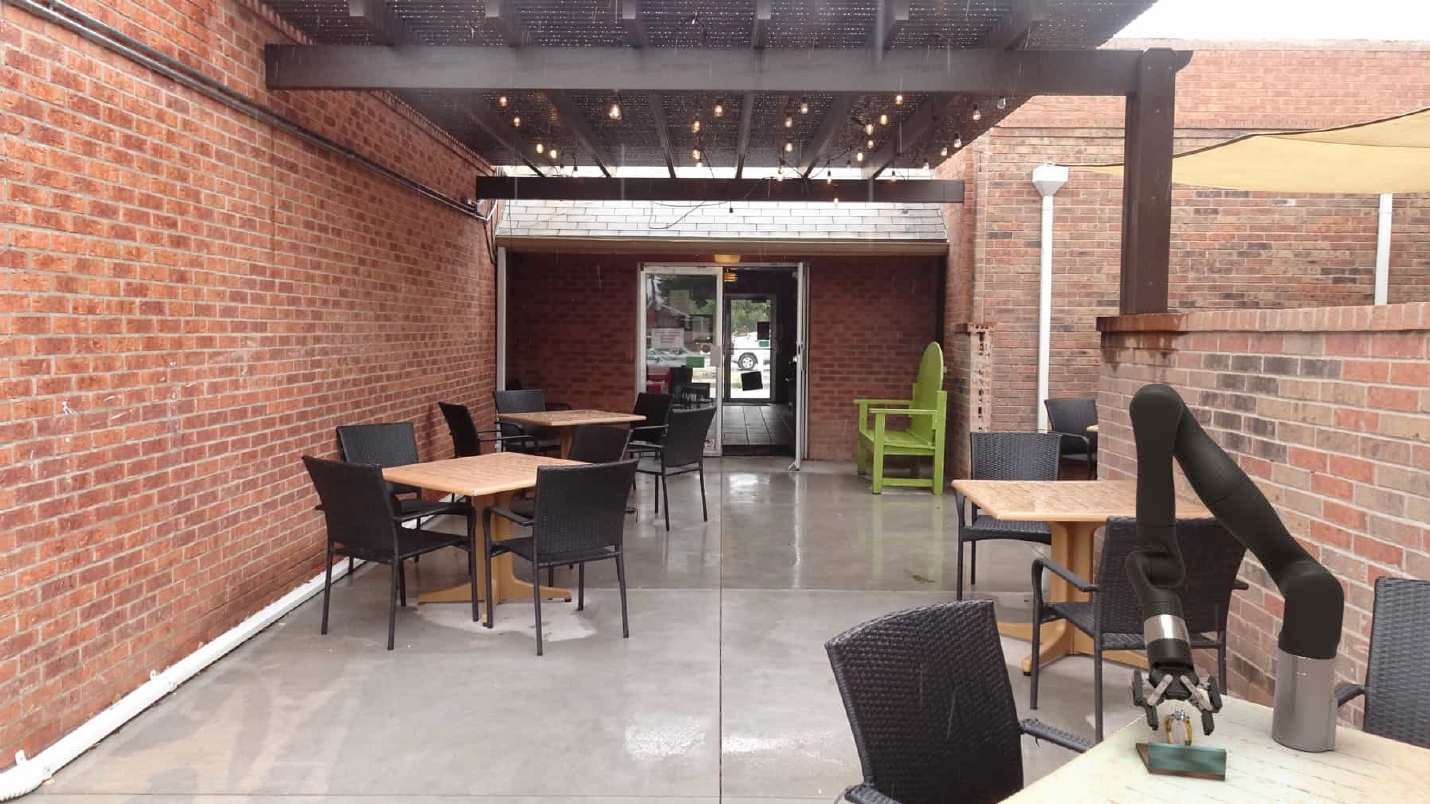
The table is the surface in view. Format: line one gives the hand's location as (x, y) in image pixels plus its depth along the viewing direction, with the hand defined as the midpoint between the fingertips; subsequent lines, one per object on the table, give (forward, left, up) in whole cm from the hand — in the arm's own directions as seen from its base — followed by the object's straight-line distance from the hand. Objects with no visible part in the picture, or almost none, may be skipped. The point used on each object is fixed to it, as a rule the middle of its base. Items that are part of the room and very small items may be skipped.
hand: (1181, 731), depth 167 cm
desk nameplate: (0, -1, -6) cm, 6 cm away
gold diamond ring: (0, -2, -5) cm, 6 cm away
